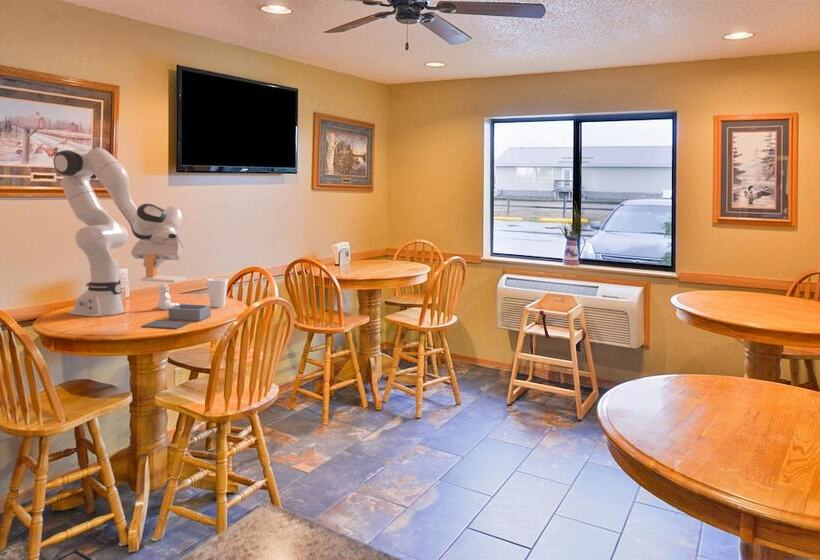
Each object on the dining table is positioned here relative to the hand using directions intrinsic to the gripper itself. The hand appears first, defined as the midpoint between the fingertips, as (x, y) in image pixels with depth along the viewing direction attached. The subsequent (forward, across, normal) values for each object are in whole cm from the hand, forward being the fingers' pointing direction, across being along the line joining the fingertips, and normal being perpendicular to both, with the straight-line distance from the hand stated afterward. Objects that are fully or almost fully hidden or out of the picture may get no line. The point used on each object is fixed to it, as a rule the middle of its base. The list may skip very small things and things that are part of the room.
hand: (150, 266), depth 240 cm
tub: (+7, +8, +27) cm, 29 cm away
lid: (+3, +5, +4) cm, 8 cm away
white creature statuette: (-4, -11, +39) cm, 41 cm away
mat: (+17, +6, +18) cm, 25 cm away
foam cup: (-12, +9, +47) cm, 49 cm away
